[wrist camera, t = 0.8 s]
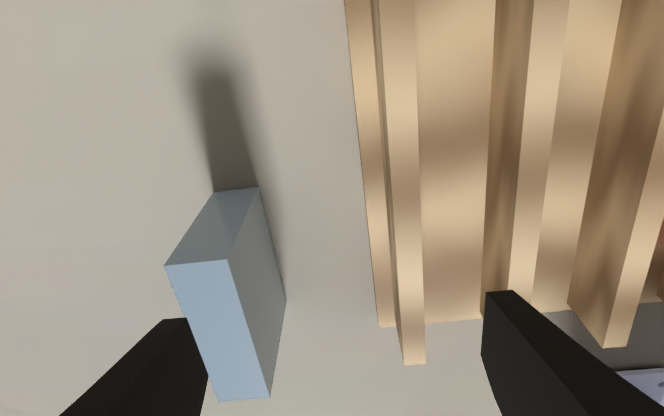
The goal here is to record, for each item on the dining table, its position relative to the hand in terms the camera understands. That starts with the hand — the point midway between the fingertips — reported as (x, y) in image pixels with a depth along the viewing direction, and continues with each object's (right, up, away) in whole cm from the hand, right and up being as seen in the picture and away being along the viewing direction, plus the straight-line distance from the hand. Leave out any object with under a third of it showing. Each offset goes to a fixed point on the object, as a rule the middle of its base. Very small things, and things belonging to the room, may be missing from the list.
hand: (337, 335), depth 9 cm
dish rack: (+9, +6, +8) cm, 13 cm away
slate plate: (-4, +1, +10) cm, 11 cm away
